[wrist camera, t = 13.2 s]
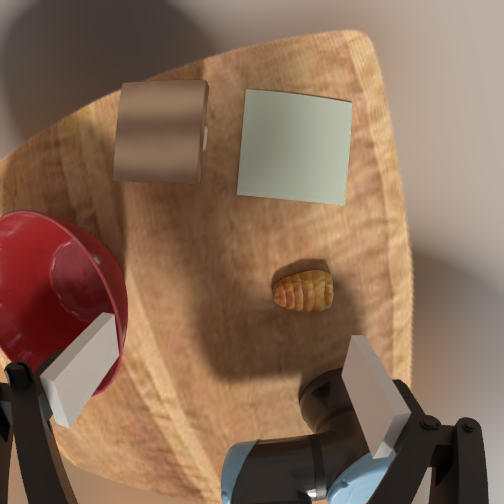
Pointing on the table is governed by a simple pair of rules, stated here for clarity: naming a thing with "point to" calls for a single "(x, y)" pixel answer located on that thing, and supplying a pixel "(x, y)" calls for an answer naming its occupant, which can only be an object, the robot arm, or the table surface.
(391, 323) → the table surface
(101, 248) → the mixing bowl
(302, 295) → the pastry
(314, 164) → the mat
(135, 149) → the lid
